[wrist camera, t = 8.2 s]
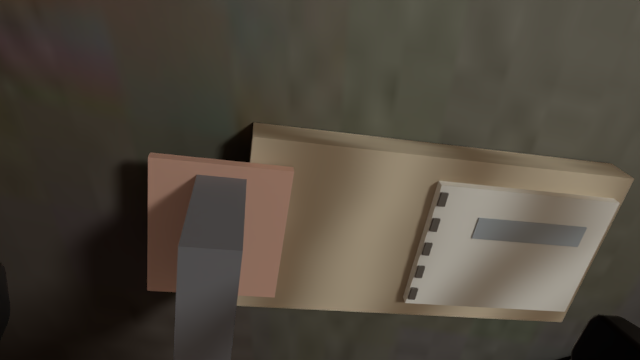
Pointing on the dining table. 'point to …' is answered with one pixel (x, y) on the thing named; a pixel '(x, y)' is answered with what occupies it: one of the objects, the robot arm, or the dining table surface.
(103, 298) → the dining table surface
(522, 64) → the dining table surface
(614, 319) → the robot arm
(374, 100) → the dining table surface
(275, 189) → the stub
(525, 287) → the ticket board
